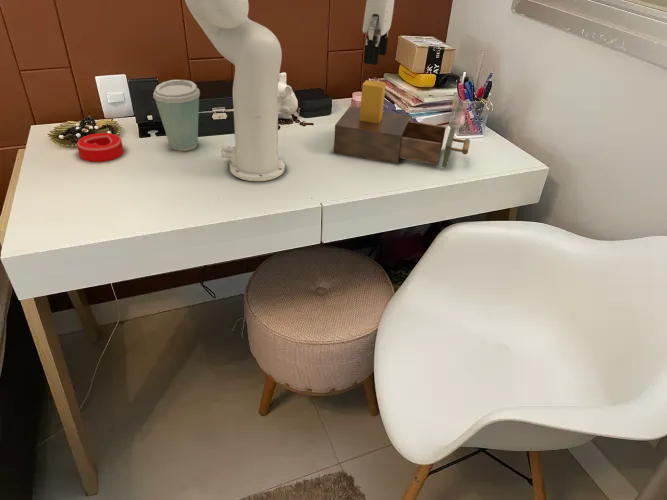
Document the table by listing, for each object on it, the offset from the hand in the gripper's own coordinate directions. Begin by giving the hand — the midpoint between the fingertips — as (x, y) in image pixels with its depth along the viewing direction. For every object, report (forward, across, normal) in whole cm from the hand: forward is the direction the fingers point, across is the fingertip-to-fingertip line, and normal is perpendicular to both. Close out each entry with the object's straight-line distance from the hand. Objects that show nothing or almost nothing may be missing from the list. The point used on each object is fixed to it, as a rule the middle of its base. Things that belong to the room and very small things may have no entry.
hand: (374, 58), depth 124 cm
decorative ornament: (+24, +28, -57) cm, 68 cm away
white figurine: (+23, -12, -26) cm, 37 cm away
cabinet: (+22, -1, +2) cm, 22 cm away
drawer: (+21, -1, +16) cm, 26 cm away
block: (+15, -1, +1) cm, 15 cm away
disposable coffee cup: (+23, +17, -42) cm, 51 cm away
